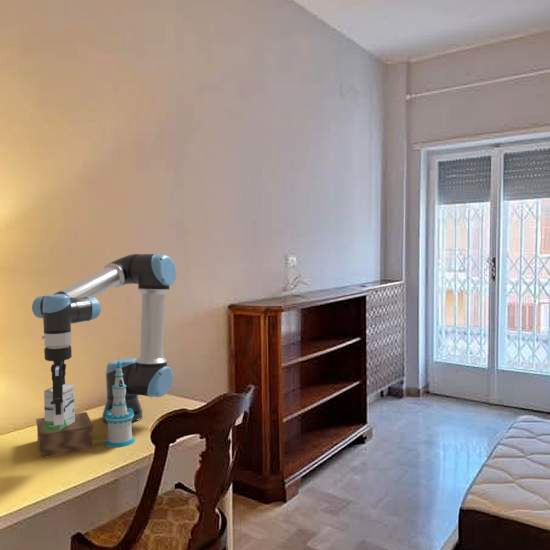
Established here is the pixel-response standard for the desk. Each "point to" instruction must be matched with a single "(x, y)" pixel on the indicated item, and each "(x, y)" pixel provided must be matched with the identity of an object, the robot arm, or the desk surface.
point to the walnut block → (65, 437)
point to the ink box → (67, 404)
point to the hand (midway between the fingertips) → (60, 418)
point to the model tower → (119, 415)
